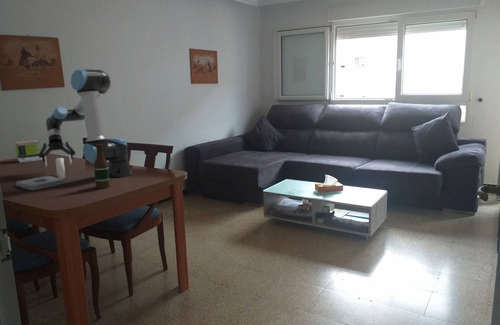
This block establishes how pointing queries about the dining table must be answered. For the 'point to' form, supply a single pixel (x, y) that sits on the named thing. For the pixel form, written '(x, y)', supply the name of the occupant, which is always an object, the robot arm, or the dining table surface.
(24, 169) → the dining table surface
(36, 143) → the tea box
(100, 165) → the beer bottle
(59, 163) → the peg
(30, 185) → the socket plate
